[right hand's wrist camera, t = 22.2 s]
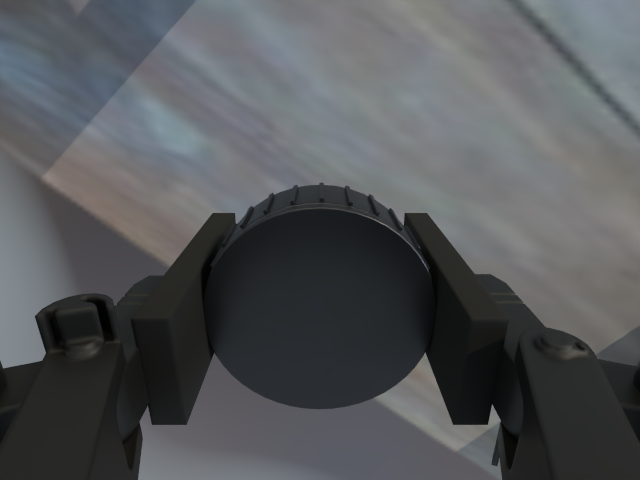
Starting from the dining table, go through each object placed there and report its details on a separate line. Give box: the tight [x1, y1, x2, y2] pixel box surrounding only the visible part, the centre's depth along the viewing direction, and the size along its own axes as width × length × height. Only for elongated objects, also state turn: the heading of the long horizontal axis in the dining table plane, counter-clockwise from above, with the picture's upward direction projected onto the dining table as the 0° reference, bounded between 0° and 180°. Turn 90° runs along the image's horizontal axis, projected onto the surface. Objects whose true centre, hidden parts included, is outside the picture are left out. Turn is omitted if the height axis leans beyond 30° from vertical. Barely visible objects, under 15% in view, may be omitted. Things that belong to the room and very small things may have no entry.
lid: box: [203, 183, 437, 409], centre depth 11 cm, size 6×6×2 cm
